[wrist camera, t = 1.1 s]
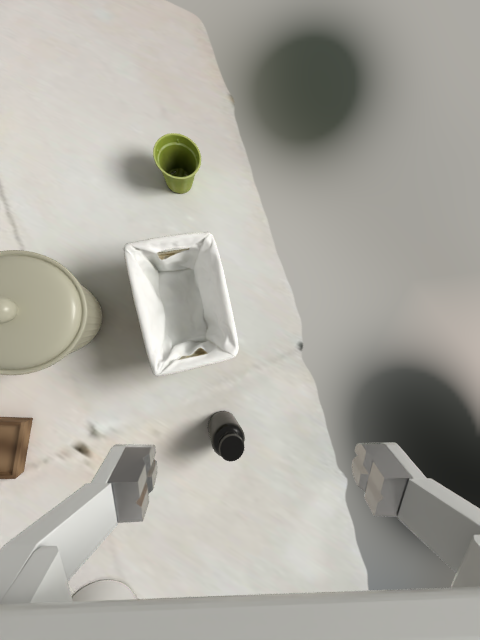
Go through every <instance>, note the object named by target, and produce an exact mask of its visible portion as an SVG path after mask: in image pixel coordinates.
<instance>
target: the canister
mask: <svg viewBox="0 0 480 640" xmlns="http://www.w3.org/2000/svg"><path fill="white" fill-rule="evenodd" d="M101 324H102V312H101V308H100V305H99V303H98V302H97V299H96V298H95V297H94V296H93V294H92V293H91V292H89V291H88V290H87V289H86V288H85V287H84V286H82V285H81V284H80V283H79V282H78V281H77V279H76V278H75V277H74V275H73V274H72V273H71V272H70V271H69V270H68V269H67V268H65V267H64V266H63V265H61V264H60V263H58V262H57V261H55V260H53V259H51V258H49V257H47V256H44V255H41V254H38V253H34V252H29V251H20V250H9V251H0V374H1V375H22V374H28V373H33V372H36V371H40V370H42V369H45V368H47V367H49V366H51V365H53V364H55V363H57V362H58V361H60V360H61V359H63V358H64V357H65V356H66V355H68V354H70V353H72V352H74V351H76V350H78V349H80V348H82V347H84V346H85V345H86V344H88V343H89V342H91V340H92V339H94V338H95V336H96V334H98V331H99V329H100V326H101Z"/></svg>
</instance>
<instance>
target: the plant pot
mask: <svg viewBox="0 0 480 640" xmlns="http://www.w3.org/2000/svg"><path fill="white" fill-rule="evenodd" d="M153 157H154V160H155V163H156V165H157V166H158V168H159V169H160V170H161V171H162V173H163V176H164V178H165V181H166V184H167V186H168V187H169V189H170V190H172V191H173V192H176V193H180V194H183V193H186V192H188V191H189V190H190V189H191V187H192V183H193V180H194V176H195V174H196V173H197V171H198V170H199V168H200V165H201V154H200V151H199V149H198V147H197V146H196V144H195V143H194V142H193V141H192V140H191V139H189V138H188V137H186V136H184V135H181V134H176V133H175V134H174V133H171V134H166V135H164V136H162V137H161V138H160V139H158V140H157V142H156V143H155V146H154V149H153ZM173 171H176V172H175V173H173V174H171V173H172V172H173ZM185 174H186V175H188V176H186V175H185Z"/></svg>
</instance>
